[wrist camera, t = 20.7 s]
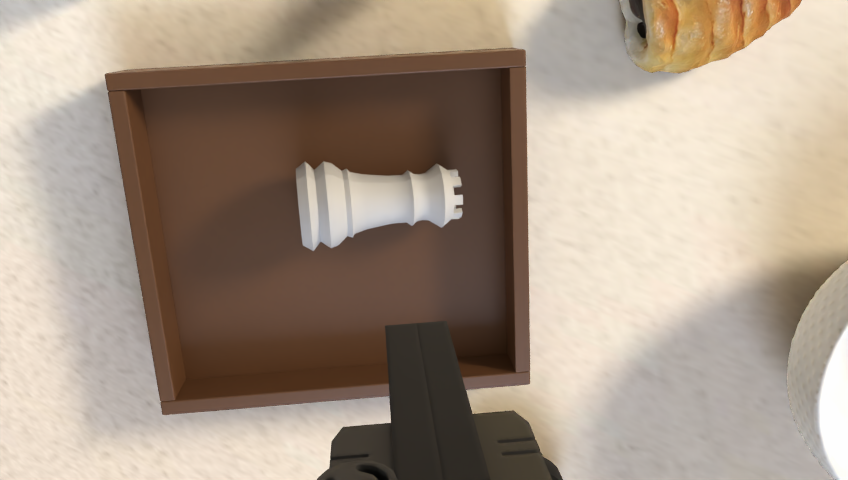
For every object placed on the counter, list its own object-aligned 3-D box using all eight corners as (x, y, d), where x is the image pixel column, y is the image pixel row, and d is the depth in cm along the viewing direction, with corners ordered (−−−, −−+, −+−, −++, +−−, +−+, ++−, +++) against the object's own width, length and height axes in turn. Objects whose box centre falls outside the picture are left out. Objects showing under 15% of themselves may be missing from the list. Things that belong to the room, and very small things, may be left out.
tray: (125, 69, 37) (104, 73, 34) (513, 47, 38) (525, 49, 35) (176, 388, 42) (162, 415, 39) (518, 360, 43) (530, 384, 40)
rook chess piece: (298, 210, 33) (471, 195, 35) (293, 143, 36) (453, 131, 37) (305, 270, 37) (462, 255, 38) (300, 204, 40) (446, 192, 41)
